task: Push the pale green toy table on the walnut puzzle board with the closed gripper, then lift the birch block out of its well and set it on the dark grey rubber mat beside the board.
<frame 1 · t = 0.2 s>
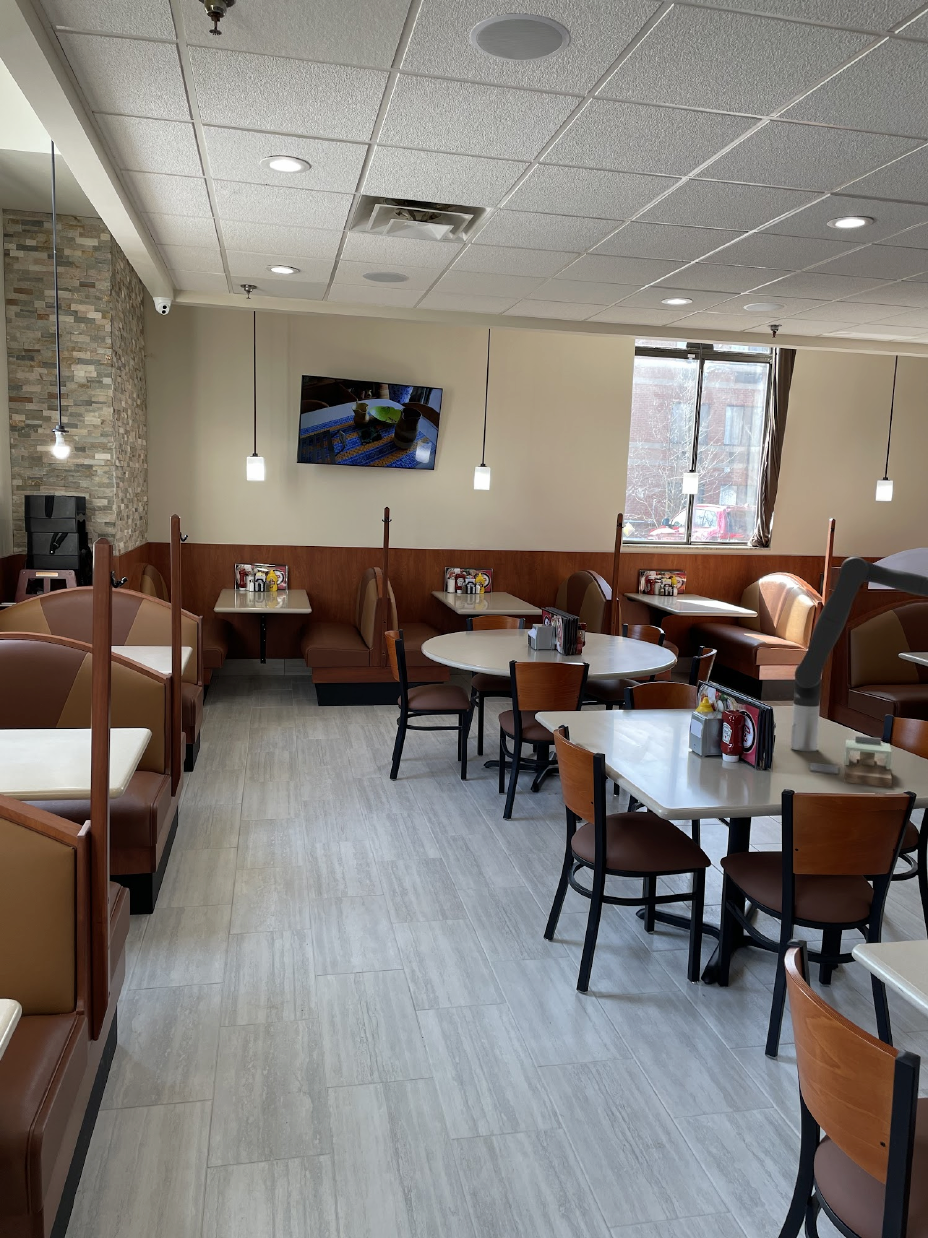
pale green toy table: (867, 751, 309), point 7 cm above the table, slide at 0.0 cm
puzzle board: (866, 774, 308), on the table
birch block: (866, 766, 312), point 1 cm above the table, touching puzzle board
rubber mat: (824, 769, 313), on the table
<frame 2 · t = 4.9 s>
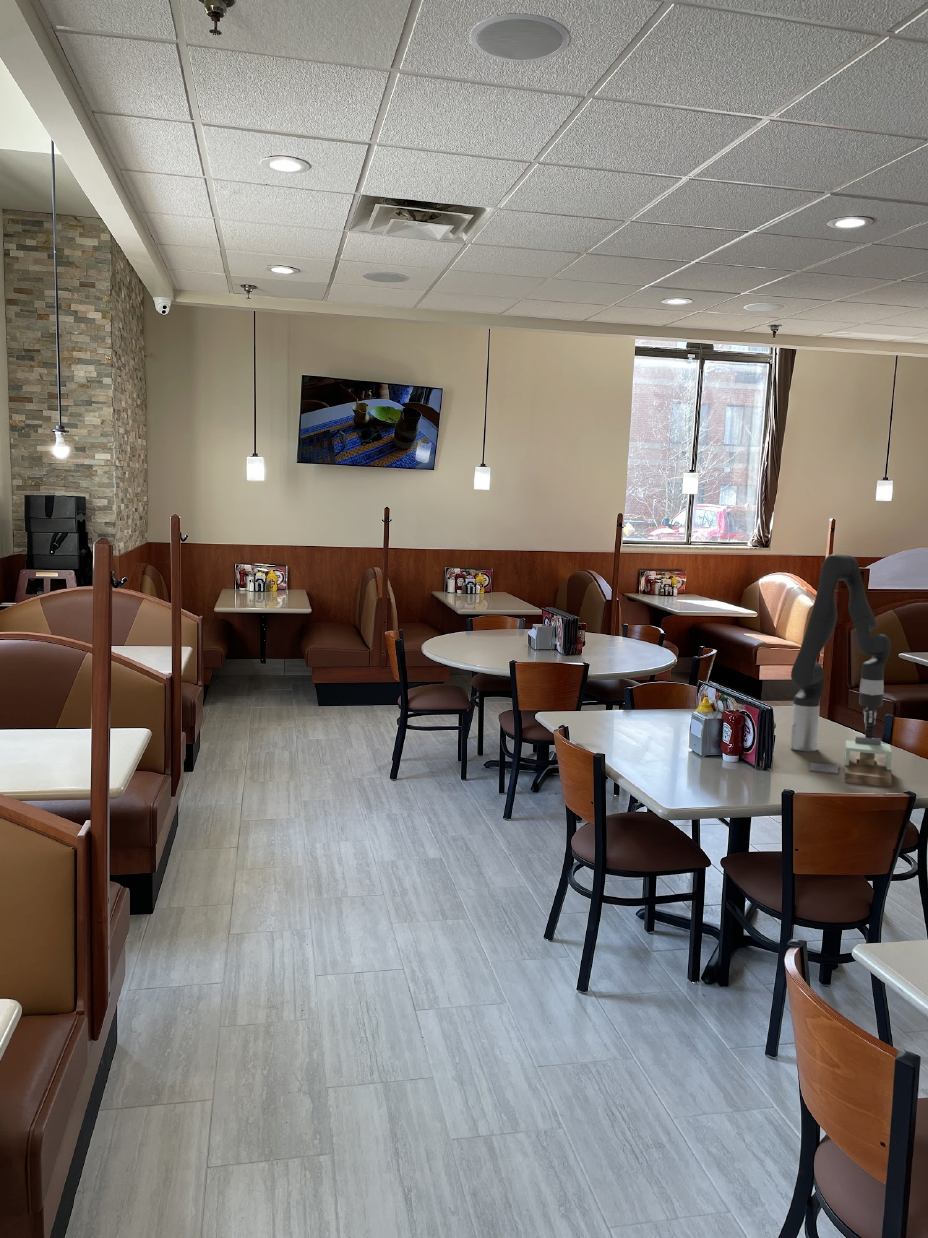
hand: (868, 740, 313), 10 cm above the table, tool pointing down, fingers closed
pale green toy table: (867, 751, 308), point 7 cm above the table, slide at 0.8 cm, touching gripper
everything else where it was.
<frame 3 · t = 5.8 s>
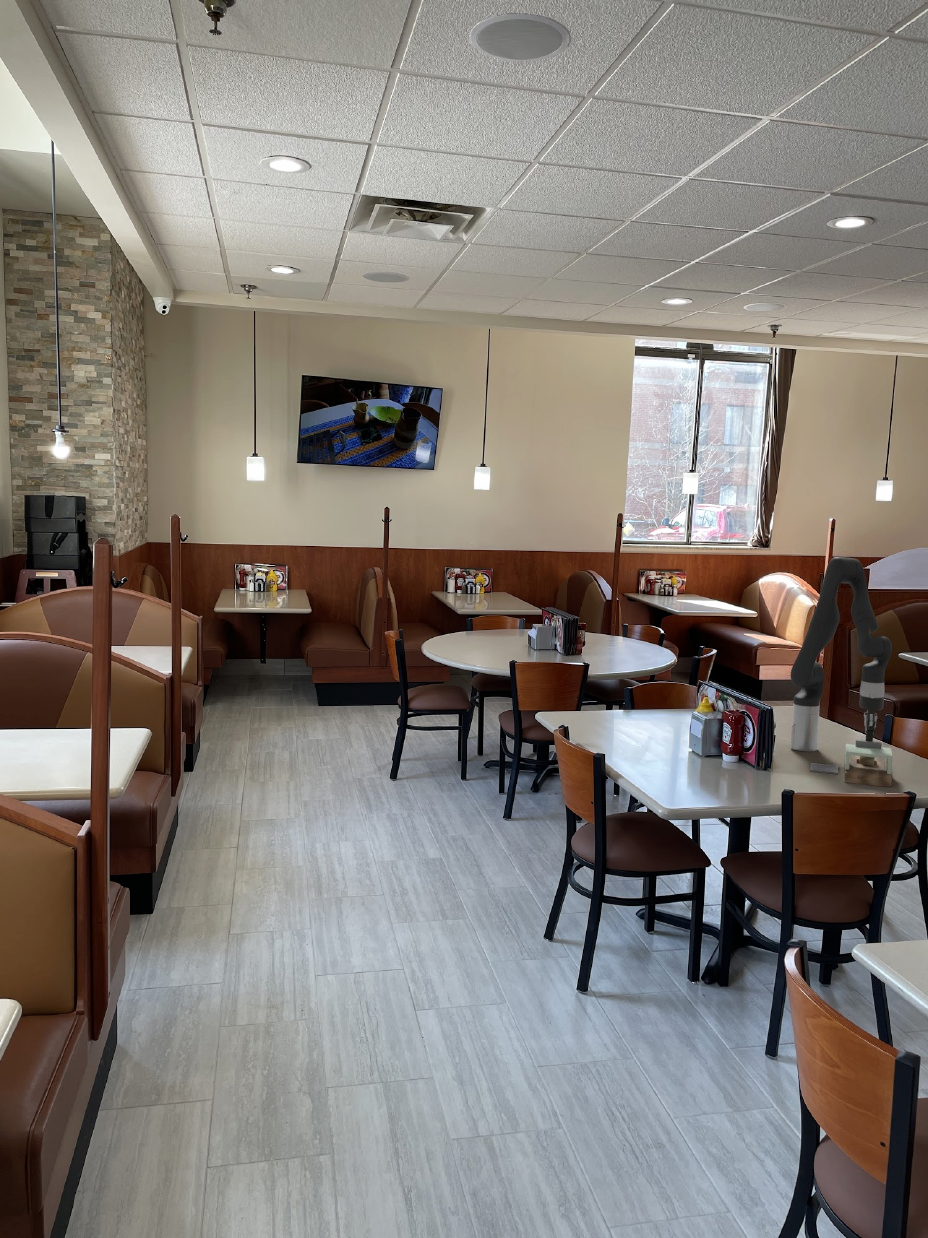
hand: (868, 744, 308), 10 cm above the table, tool pointing down, fingers closed
pale green toy table: (868, 755, 303), point 7 cm above the table, slide at 6.1 cm, touching gripper
everything else where it was.
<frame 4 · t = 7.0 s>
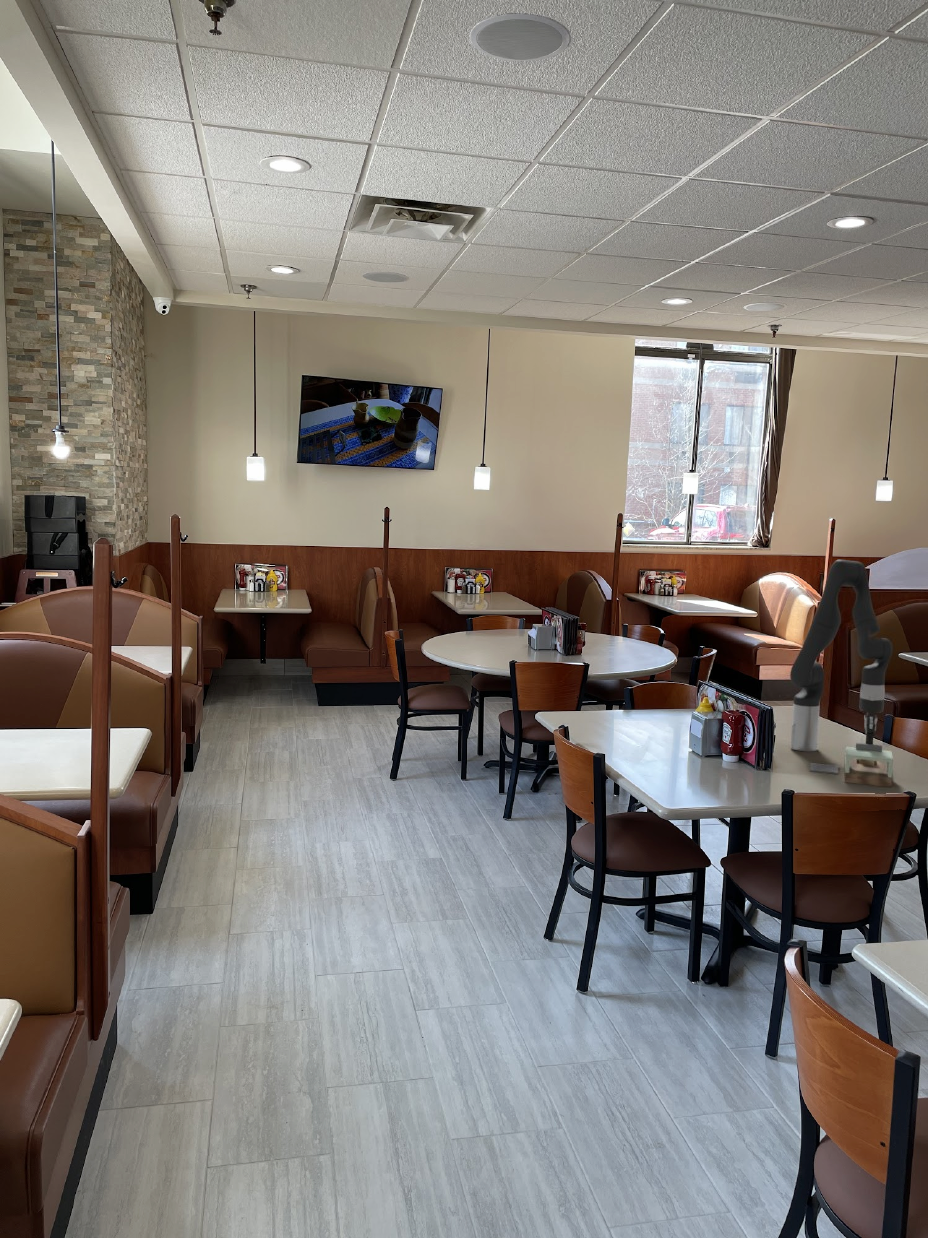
hand: (869, 747, 305), 10 cm above the table, tool pointing down, fingers closed
pale green toy table: (868, 758, 300), point 7 cm above the table, slide at 10.1 cm, touching gripper
everything else where it was.
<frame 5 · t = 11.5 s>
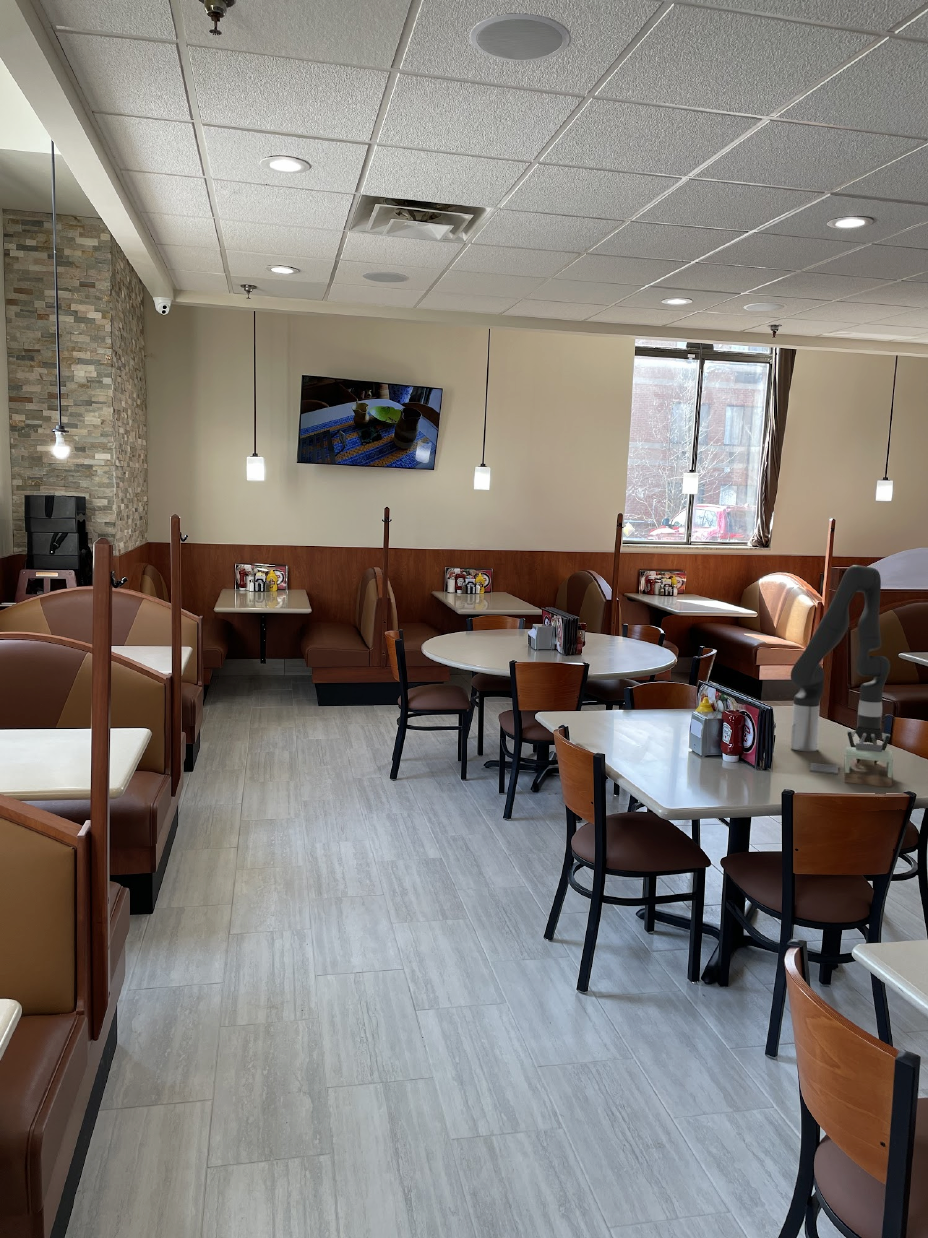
hand: (866, 761, 311), 3 cm above the table, tool pointing down, fingers closed on birch block, 4 cm apart
pale green toy table: (868, 758, 300), point 7 cm above the table, slide at 10.1 cm
birch block: (866, 766, 312), point 2 cm above the table, touching gripper, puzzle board
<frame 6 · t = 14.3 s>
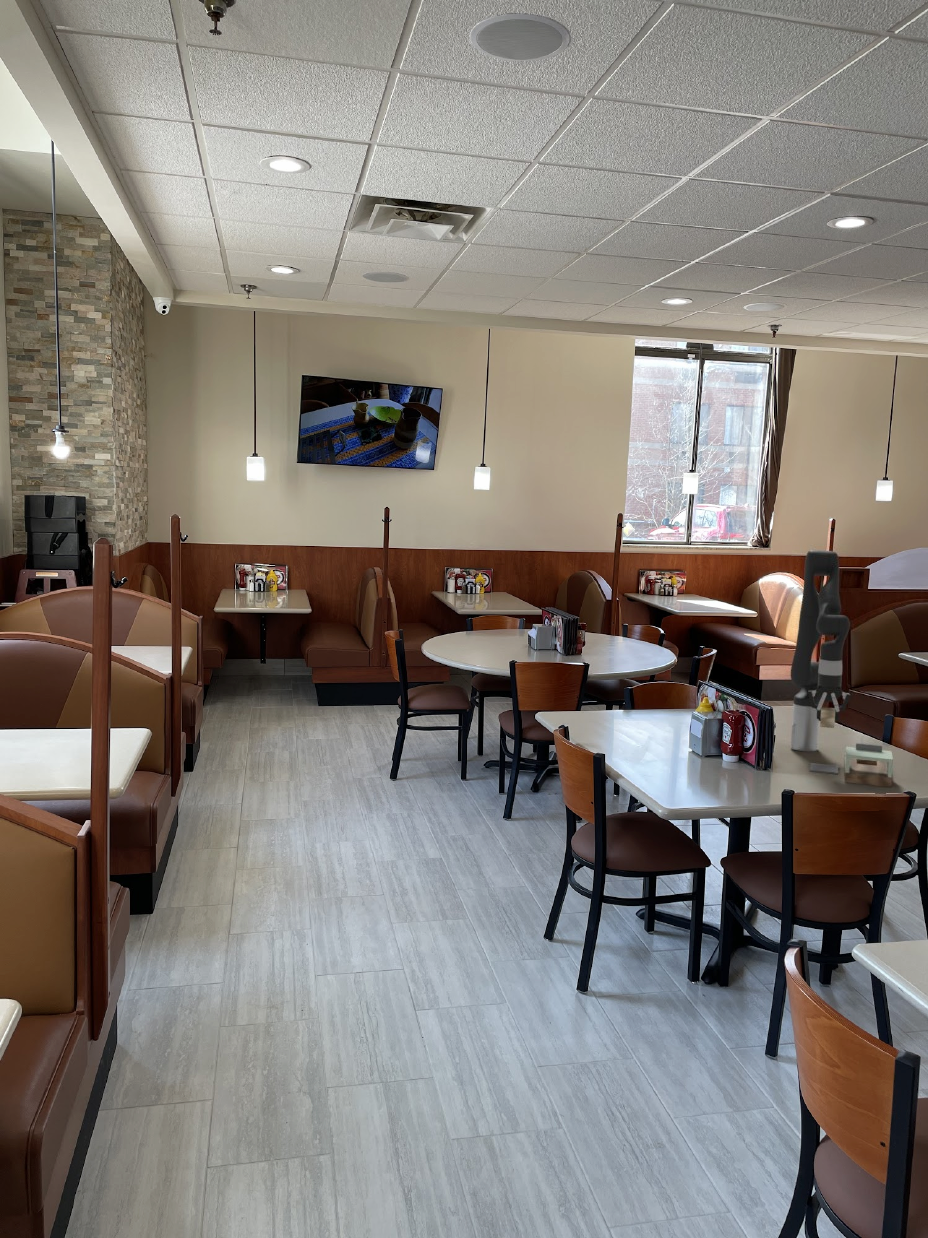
hand: (827, 721, 311), 17 cm above the table, tool pointing down, fingers closed on birch block, 4 cm apart
birch block: (827, 726, 311), point 15 cm above the table, touching gripper
everything else where it was.
when the fingers open (4 cm above the table, at t = 17.2 s): birch block drops 1 cm, resting on rubber mat.
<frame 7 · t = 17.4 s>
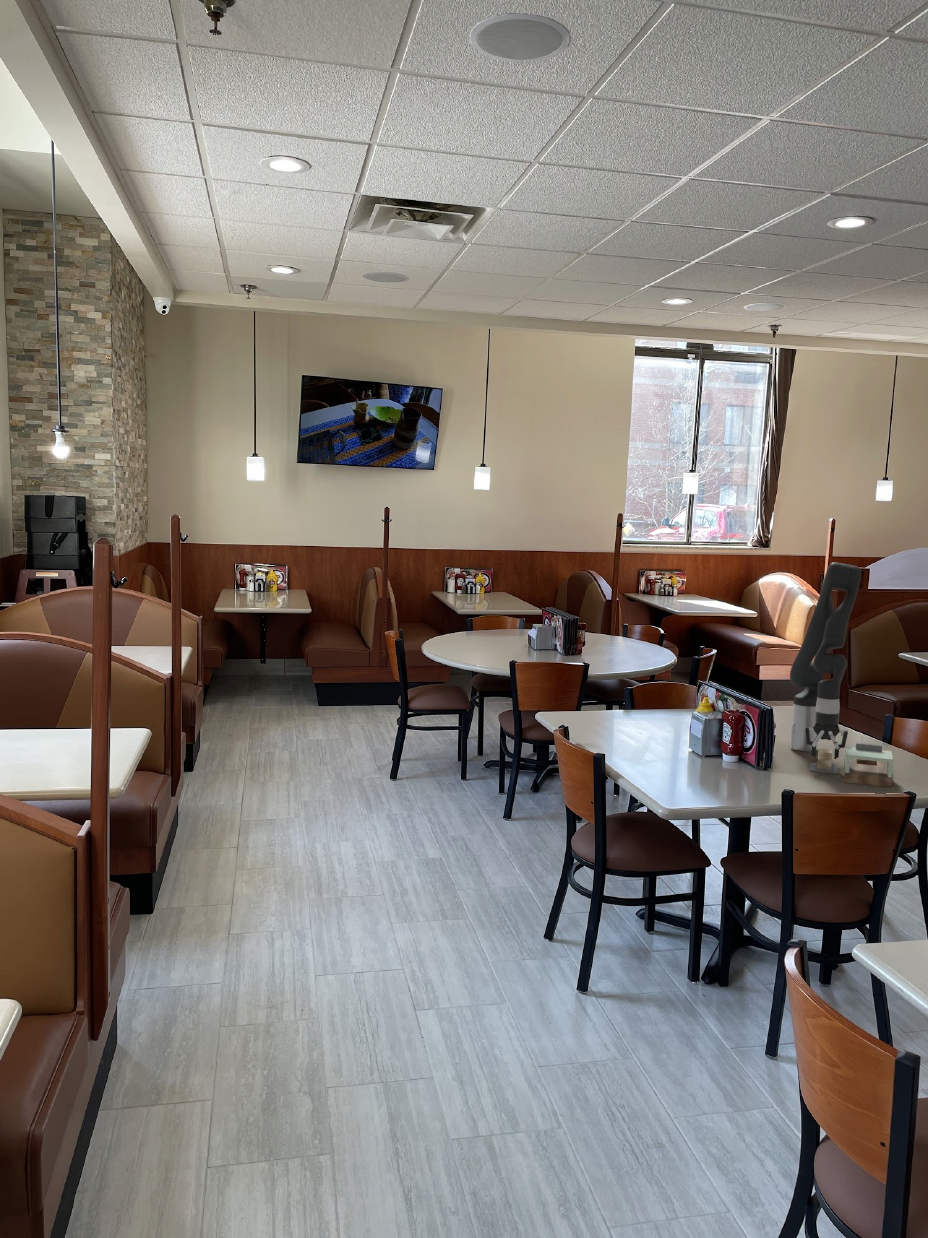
hand: (824, 757, 313), 4 cm above the table, tool pointing down, fingers open, 6 cm apart
birch block: (824, 767, 313), point 1 cm above the table, touching rubber mat
everything else where it was.
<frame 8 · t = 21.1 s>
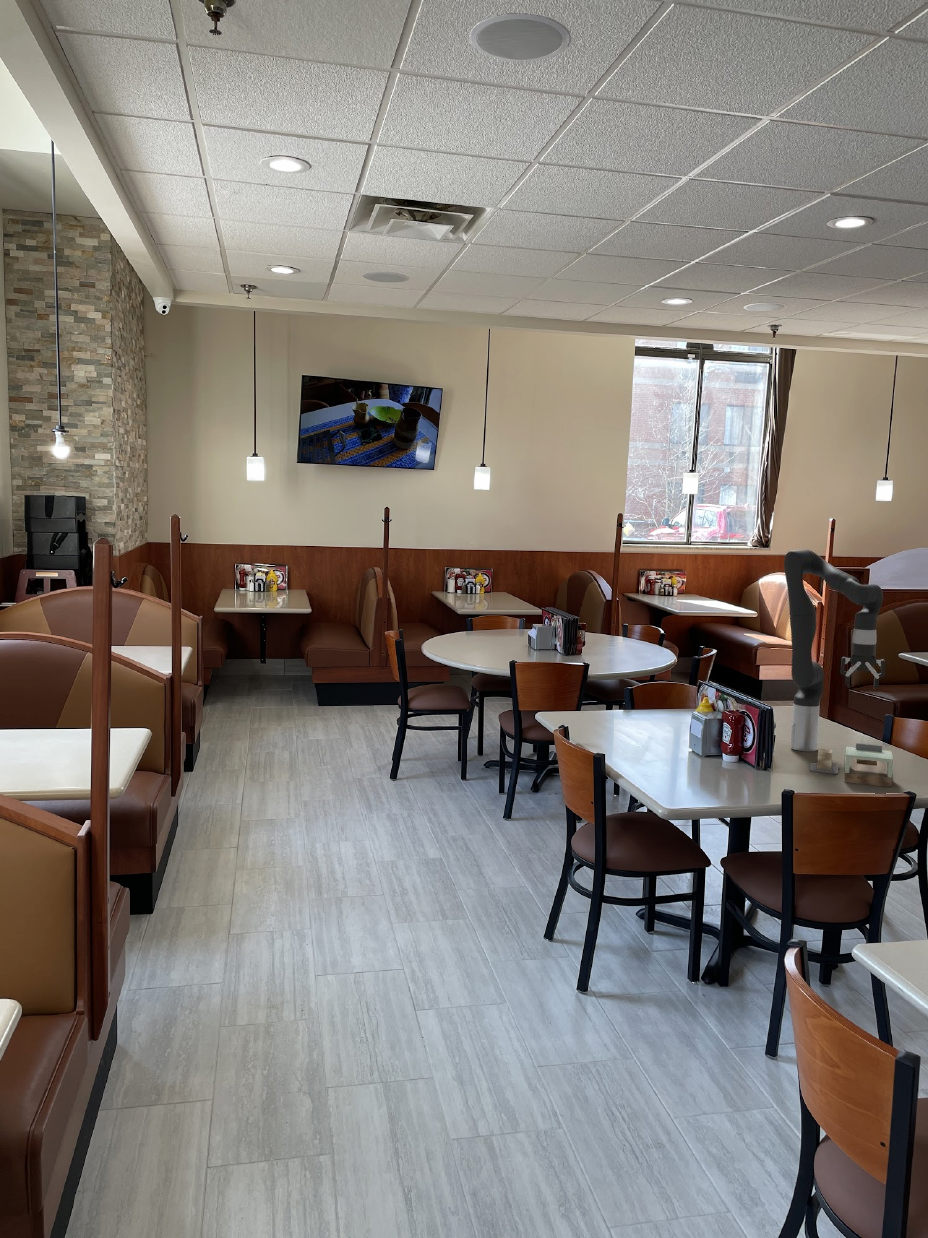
hand: (861, 687, 314), 28 cm above the table, tool pointing down, fingers open, 8 cm apart
nothing on the table moved.
at the end: pale green toy table slide at 10.1 cm; birch block inside the target area (0.0 cm from its centre), point 0.6 cm above the table; birch block tilted 0° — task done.
